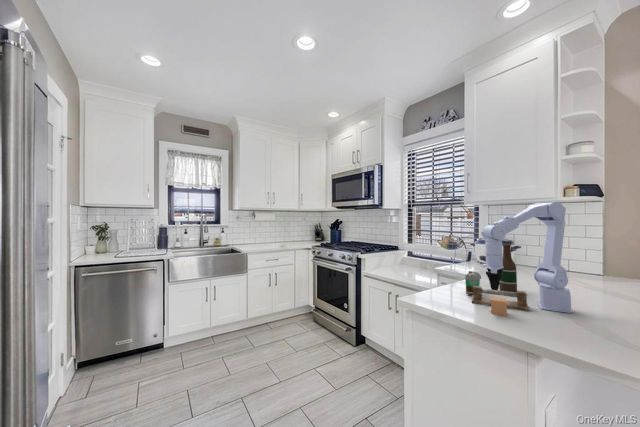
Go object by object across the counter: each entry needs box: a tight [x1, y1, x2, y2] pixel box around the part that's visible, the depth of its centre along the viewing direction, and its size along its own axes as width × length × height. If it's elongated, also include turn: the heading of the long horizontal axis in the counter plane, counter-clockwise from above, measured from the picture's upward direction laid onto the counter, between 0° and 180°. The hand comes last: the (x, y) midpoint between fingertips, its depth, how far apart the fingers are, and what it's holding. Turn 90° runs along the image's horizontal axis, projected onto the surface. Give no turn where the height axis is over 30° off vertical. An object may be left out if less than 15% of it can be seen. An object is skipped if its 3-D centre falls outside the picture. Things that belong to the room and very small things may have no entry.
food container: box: [464, 270, 482, 296], centre depth 129 cm, size 12×6×10 cm, turn 143°
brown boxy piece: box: [471, 285, 530, 312], centre depth 113 cm, size 20×8×6 cm, turn 55°
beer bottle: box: [499, 243, 518, 293], centre depth 133 cm, size 8×8×24 cm
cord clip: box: [490, 296, 508, 317], centre depth 103 cm, size 5×5×6 cm
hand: (494, 287), depth 106 cm, fingers open, 7 cm apart
